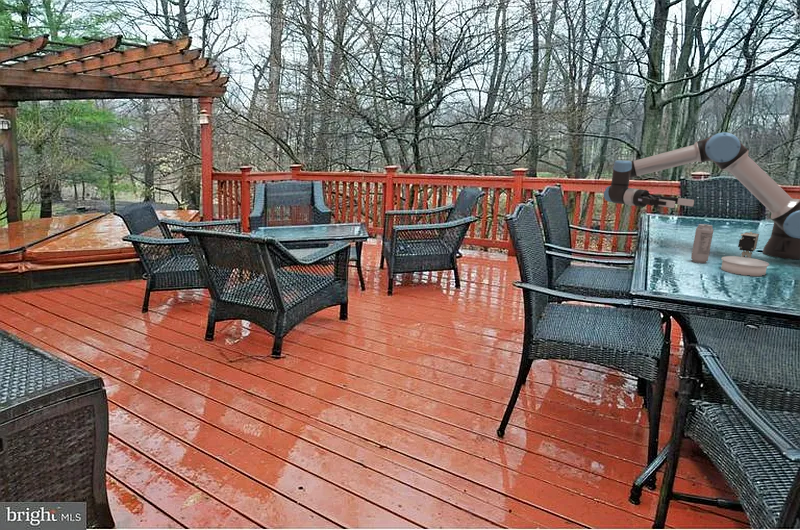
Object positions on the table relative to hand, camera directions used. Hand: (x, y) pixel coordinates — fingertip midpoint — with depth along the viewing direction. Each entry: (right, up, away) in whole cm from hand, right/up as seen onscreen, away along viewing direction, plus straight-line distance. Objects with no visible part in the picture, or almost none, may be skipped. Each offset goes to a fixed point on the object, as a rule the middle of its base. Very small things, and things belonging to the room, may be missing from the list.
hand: (684, 203), depth 207 cm
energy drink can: (+5, -24, -2) cm, 24 cm away
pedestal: (+13, -27, -16) cm, 34 cm away
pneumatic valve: (+26, -23, +2) cm, 35 cm away
